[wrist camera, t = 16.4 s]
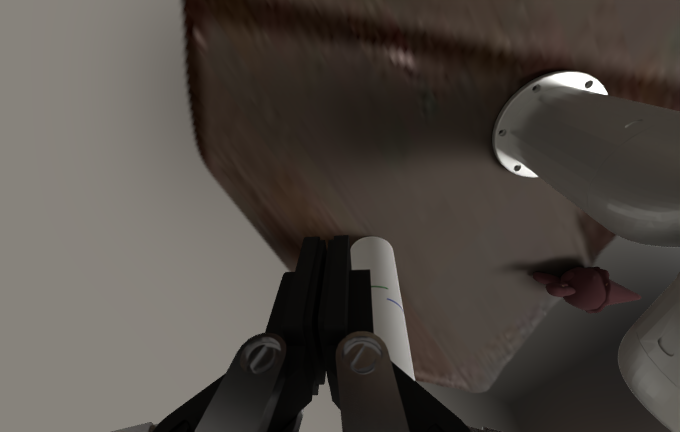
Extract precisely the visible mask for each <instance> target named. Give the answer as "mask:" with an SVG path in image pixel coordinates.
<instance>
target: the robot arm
mask: <svg viewBox="0 0 680 432" xmlns="http://www.w3.org/2000/svg"><path fill="white" fill-rule="evenodd" d="M533 87H534V89H533ZM532 89H533V90H532ZM500 131H501V132H500ZM499 132H500V133H499ZM492 145H493V150H494V153H495V155H496V158H497V159H498V161H499V162H500V163H501V164H502V165H503V166H504V167H505V168H506V169H507V170H509V171H510V172H512V173H514V174H517V175H520V176H523V177H540V178H541V179H542V180H544V181H545V182H546V183H548V184H549V185H550V186H552V187H553V188H554V189H555V190H557V191H558V192H559V193H561V194H562V195H563V196H565V197H566V198H567V199H569V200H570V201H571V202H572V203H574V204H575V205H576V206H578V207H579V208H580V209H582V210H583V211H584V212H586V213H587V214H588V215H589V216H591V217H592V218H593V219H595V220H596V221H597V222H599V223H600V224H602V225H603V226H604V227H606V228H607V229H608V230H610V231H611V232H613V233H615V234H616V235H618V236H620V237H622V238H625V239H627V240H630V241H633V242H636V243H639V244H644V245H651V246H659V247H680V112H679V111H674V110H670V109H666V108H661V107H657V106H653V105H648V104H644V103H640V102H635V101H631V100H626V99H622V98H618V97H613V96H609V95H608V93H607V91H606V89H605V88H604V86H603V84H602V83H601V82H600V81H598V80H597V79H596V78H595V77H593V76H591V75H589V74H587V73H582V72H578V71H569V70H565V71H555V72H552V73H548V74H545V75H542V76H540V77H538V78H536V79H534V80H532V81H530V82H529V83H527V84H526V85H524V86H523V87H521V88H520V89H519V90H518V91H517V92H516V93H515V94H514V95H513V96H512V97H511V98H510V99H509V100H508V101H507V103H506V104H505V105H504V107H503V108H502V110H501V112H500V113H499V115H498V117H497V120H496V122H495V125H494V129H493V133H492ZM618 363H619V367H620V370H621V373H622V376H623V378H624V380H625V381H626V383H627V385H628V386H629V388H630V389H631V391H632V392H633V394H634V395H635V396H636V397H637V399H638V400H639V401H640V402H641V403H642V404H643V405H644V406H645V407H646V408H647V409H648V411H649V412H650V413H652V414H653V415H654V416H655V417H656V418H657V419H658V420H659V421H660V422H661V423H662V424H663V425H665V426H666V427H667V428H668V429H669V430H671V431H672V432H680V272H679V274H678V275H677V278H676V279H675V280H674V281H673V282H672V283H671V284H670V286H669V287H668V288H667V289H666V290H665V291H664V292H663V293H662V294H661V295H660V296H659V297H658V299H657V300H656V301H655V302H654V303H653V304H652V305H651V306H650V307H649V308H648V309H647V310H646V312H645V313H644V314H643V315H642V316H641V317H640V318H639V319H638V320H637V322H635V324H634V325H633V326H632V327H631V328H630V330H629V331H628V332H627V333H626V335H625V337H624V338H623V340H622V342H621V344H620V347H619V351H618ZM326 372H327V378H328V383H329V386H330V391H331V396H332V401H333V402H334V403H335V404H336V405H337V407H338V408H339V409H340V410H341V420H342V431H343V432H503V431H499V430H494V429H491V428H487V427H482V430H481V429H477V428H473V427H470V426H466V425H465V424H464V423H463V422H462V420H461V419H459V418H458V417H457V416H456V415H455V414H453V413H452V412H451V411H450V410H449V409H447V408H446V407H445V406H444V405H443V404H442V403H440V402H439V401H438V400H437V399H436V398H434V397H433V396H432V395H431V394H430V393H429V392H427V391H426V390H425V389H424V388H423V387H421V386H420V385H419V384H418V383H417V382H416V381H414V380H413V379H412V378H411V377H410V376H409V375H407V374H406V373H405V372H404V371H403V370H401V369H400V368H399V367H398V366H397V365H396V364H394V363H393V362H392V361H391V360H390V356H389V352H388V349H387V347H386V345H385V343H384V342H383V340H382V339H381V338H380V337H378V336H377V335H375V334H374V328H373V310H372V293H371V275H370V269H366V270H352V265H351V253H350V242H349V235H343V236H334V240H329V242H328V249H327V250H326V243H325V240H320V237H305V238H304V240H303V244H302V248H301V252H300V256H299V259H298V263H297V267H296V271H295V272H285V273H284V275H283V277H282V280H281V283H280V287H279V290H278V293H277V296H276V299H275V302H274V306H273V309H272V312H271V315H270V318H269V322H268V325H267V328H266V332H265V333H262V334H258V335H255V336H253V337H251V338H250V339H248V340H247V341H246V342H245V343H244V344H243V345H242V346H241V347H240V349H239V350H238V352H237V353H236V355H235V357H234V359H233V361H232V363H231V365H230V367H229V368H228V370H227V372H226V373H225V374H224V375H223V376H222V377H220V378H219V379H217V380H216V381H215V382H213V383H212V384H210V385H209V386H208V387H206V388H205V389H204V390H202V391H201V392H200V393H198V394H197V395H195V396H194V397H193V398H191V399H190V400H189V401H187V402H186V403H185V404H183V405H182V406H180V407H179V408H178V409H176V410H175V411H174V412H172V413H171V414H170V415H168V416H167V417H166V418H165V419H163V420H162V421H161V422H160V423H159V424H156V425H153V423H152V422H149V423H145V424H141V425H137V426H133V427H128V428H125V429H120V430H116V431H112V432H299V429H300V425H301V421H302V418H303V412H304V407H306V406H307V404H309V403H310V402H311V401H312V395H318V389H319V385H322V384H324V383H325V376H326Z"/></svg>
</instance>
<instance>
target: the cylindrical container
mask: <svg viewBox="0 0 680 432" xmlns="http://www.w3.org/2000/svg"><path fill="white" fill-rule="evenodd" d="M350 253H351V265H352V270H366V269H370V275H371V293H372V310H373V328H374V334H375V335H377V336H378V337H380V338H381V339H382V340H383V342H384V343H385V345H386V347H387V349H388V352H389V356H390V360H391V361H392V362H393V363H394V364H396V365H397V366H398V367H399V368H400V369H401V370H403V371H404V372H405V373H406V374H407V375H409V376H410V377H411V378H412V379H413V380H414V381H415V377H414V371H413V366H412V360H411V354H410V348H409V342H408V336H407V330H406V324H405V318H404V312H403V306H402V300H401V295H400V289H399V283H398V277H397V271H396V265H395V259H394V253H393V249H392V247H391V245H390V244H389V243H388V242H387V241H386V240H384V239H382V238H379V237H374V236H370V237H364V238H361V239H359V240H358V241H356V242H355V243H354V244H353V245H352V247H351V249H350Z"/></svg>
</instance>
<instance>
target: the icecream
mask: <svg viewBox="0 0 680 432" xmlns="http://www.w3.org/2000/svg"><path fill="white" fill-rule="evenodd" d="M533 278H534V279H535V280H536V281H538V282H540V283H543V284H546V289H547V291H548V293H549V294H551V295H553V296H557V297H563V298H564V299H565V301H566V302H568V303H569V304H571V305H573V306H575V307H577V308H580V309H582V310H585V311H586V312H588V313H597V312H600V311H602V309H603V308H604V307H605V306H607V305H612V304H617V303H622V302H628V301H633V300H638V299H641V296H640V295H638V294H636V293H634V292H632V291H630V290H628V289H626V288H625V287H623V286H621V285H619V284H617V283H615V282H613V281H611V280H609V273H608V271H606V270H603V269H600V268H599V267H588V268H581V267H576V268H573V269H570V270H569V271H567V272H565V273H564V274H563V275H562V276H561V277H557V276H554V275H551V274H547V273H542V272H535V273H533Z"/></svg>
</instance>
